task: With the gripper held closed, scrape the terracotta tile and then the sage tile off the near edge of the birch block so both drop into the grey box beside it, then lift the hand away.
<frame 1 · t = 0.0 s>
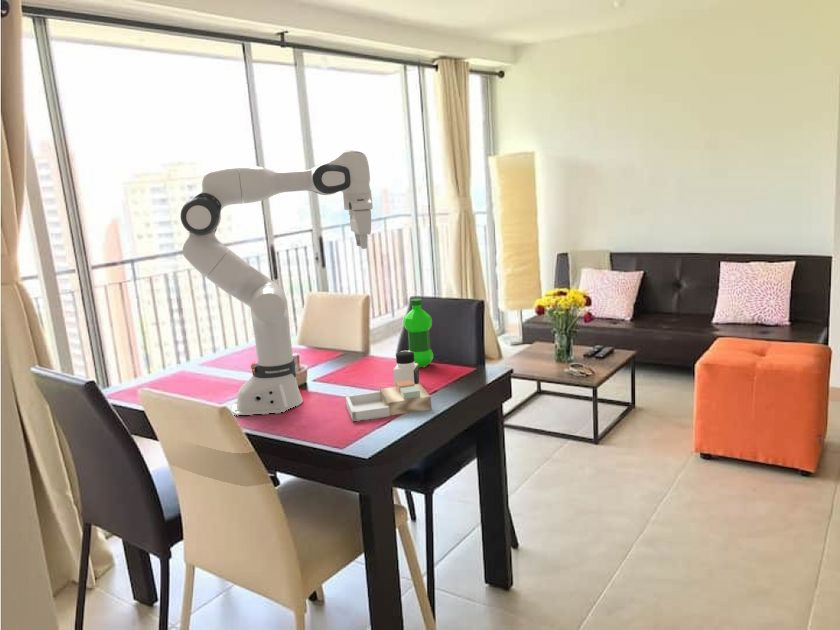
hand: (361, 247, 212), 48 cm above the table, tool pointing down, fingers open, 8 cm apart
grey box: (367, 410, 203), on the table
terracotta tile: (405, 388, 209), point 4 cm above the table, touching birch block
medicine bottle: (407, 387, 224), on the table
plastic bottle: (420, 366, 247), on the table
sage tile: (410, 395, 202), point 4 cm above the table, touching birch block
birch block: (405, 405, 206), on the table
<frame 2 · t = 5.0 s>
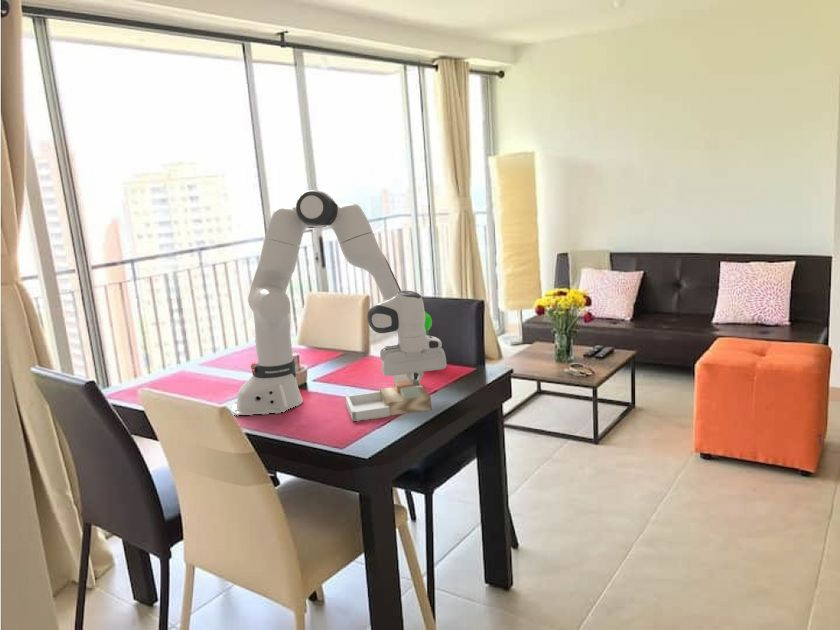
hand: (415, 385, 209), 5 cm above the table, tool pointing down, fingers closed
terracotta tile: (403, 389, 208), point 4 cm above the table, touching gripper
everything else where it was.
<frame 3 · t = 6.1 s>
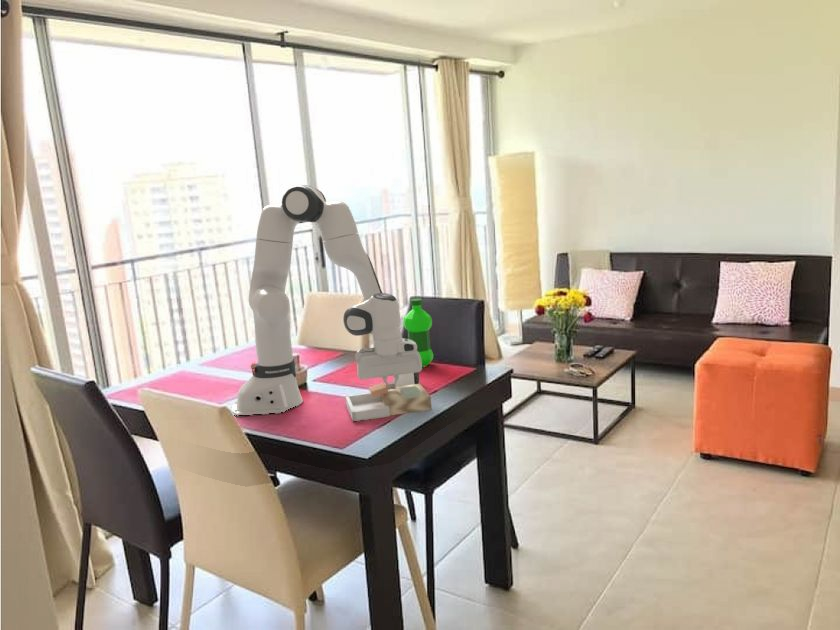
hand: (391, 388, 208), 5 cm above the table, tool pointing down, fingers closed
terracotta tile: (379, 393, 207), point 4 cm above the table, tilted 8°, touching gripper
everything else where it was.
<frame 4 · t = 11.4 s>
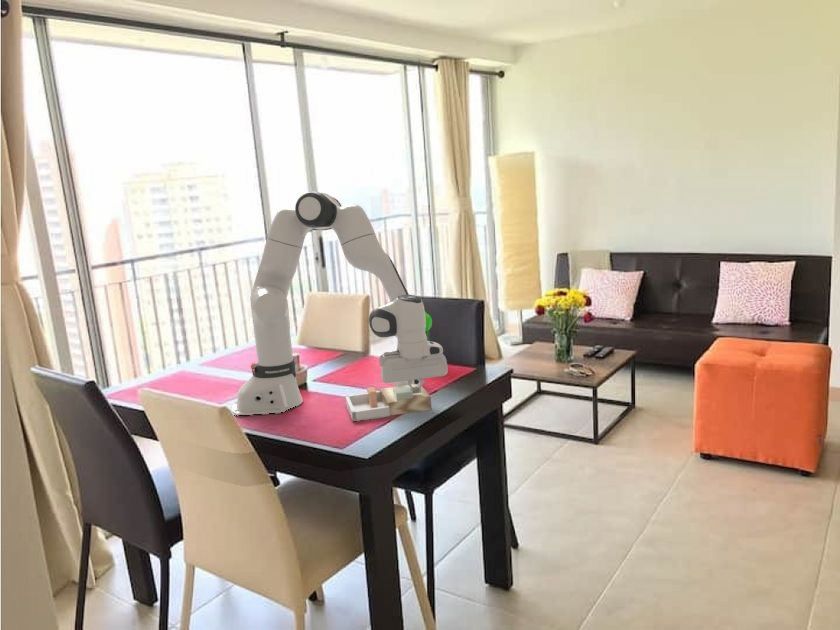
hand: (415, 392, 202), 5 cm above the table, tool pointing down, fingers closed
terracotta tile: (375, 396, 207), point 3 cm above the table, tilted 90°, touching grey box
sage tile: (403, 396, 201), point 4 cm above the table, touching birch block, gripper
everything else where it was.
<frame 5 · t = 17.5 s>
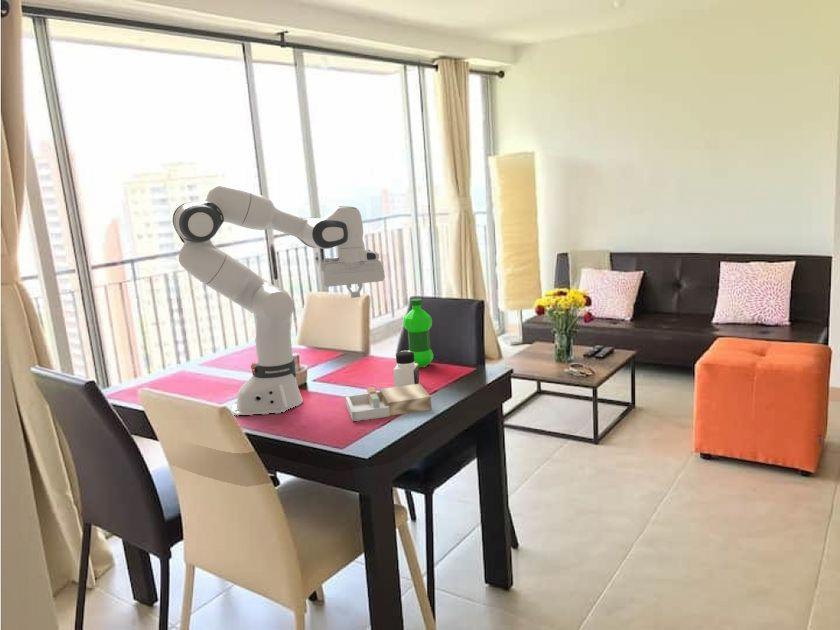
hand: (355, 297, 220), 31 cm above the table, tool pointing down, fingers closed
sage tile: (378, 403, 200), point 3 cm above the table, tilted 90°, touching grey box
everything else where it was.
at the end: terracotta tile inside the target area on the grey box (4.5 cm from its centre), point 2.9 cm above the grey box's base; sage tile inside the target area on the grey box (4.4 cm from its centre), point 2.9 cm above the grey box's base; medicine bottle moved 0.2 cm from its start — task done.
